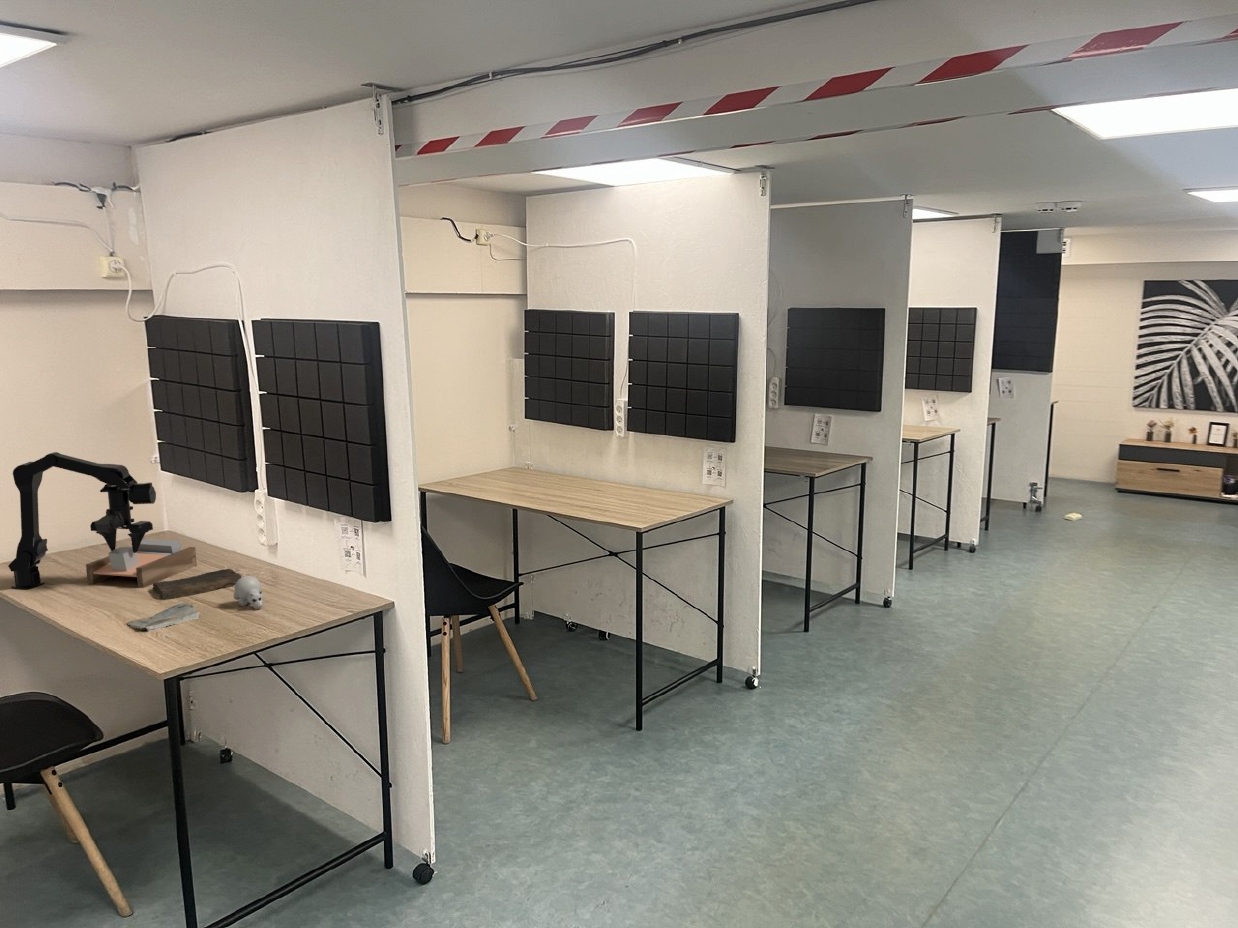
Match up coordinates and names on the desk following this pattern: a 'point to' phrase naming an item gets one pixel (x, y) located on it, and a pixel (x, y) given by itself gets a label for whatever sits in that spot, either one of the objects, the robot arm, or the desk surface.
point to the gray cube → (123, 559)
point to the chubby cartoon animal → (248, 592)
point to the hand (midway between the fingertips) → (124, 551)
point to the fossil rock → (166, 617)
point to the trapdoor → (144, 556)
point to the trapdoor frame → (150, 568)
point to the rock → (196, 584)
